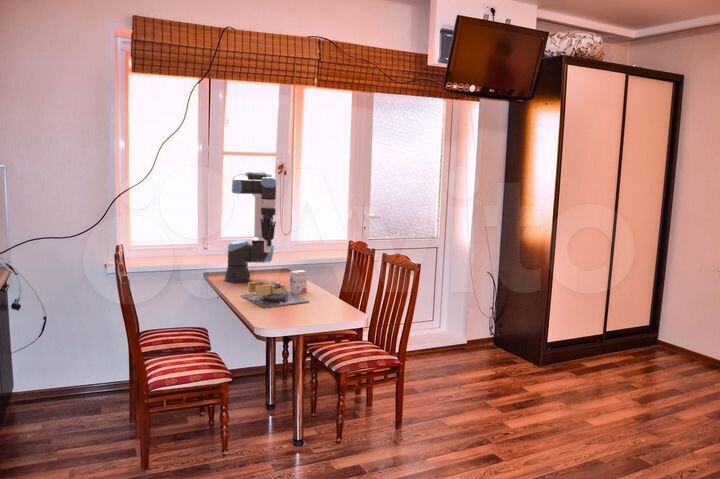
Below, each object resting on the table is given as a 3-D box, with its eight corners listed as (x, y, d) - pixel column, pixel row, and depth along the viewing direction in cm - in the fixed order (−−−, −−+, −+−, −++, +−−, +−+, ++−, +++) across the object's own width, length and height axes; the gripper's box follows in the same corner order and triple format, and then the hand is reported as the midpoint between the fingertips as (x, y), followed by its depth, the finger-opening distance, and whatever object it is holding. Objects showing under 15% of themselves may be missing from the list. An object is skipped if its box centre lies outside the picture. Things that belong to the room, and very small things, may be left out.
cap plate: (241, 296, 309) (241, 279, 308) (284, 291, 325) (285, 275, 323) (263, 308, 289) (264, 290, 287) (309, 302, 304) (309, 285, 303)
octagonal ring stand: (279, 288, 314) (279, 279, 313) (289, 292, 305) (289, 283, 304) (247, 291, 303) (247, 282, 302) (257, 296, 294) (257, 286, 293)
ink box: (301, 290, 330) (301, 269, 328) (306, 292, 326) (307, 271, 325) (288, 292, 324) (289, 271, 322) (294, 294, 320) (295, 272, 319)
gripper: (255, 206, 307) (254, 250, 310) (268, 208, 296) (267, 254, 299) (268, 205, 311) (267, 249, 315) (281, 208, 300) (280, 253, 303)
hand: (267, 252), depth 307 cm, fingers closed
